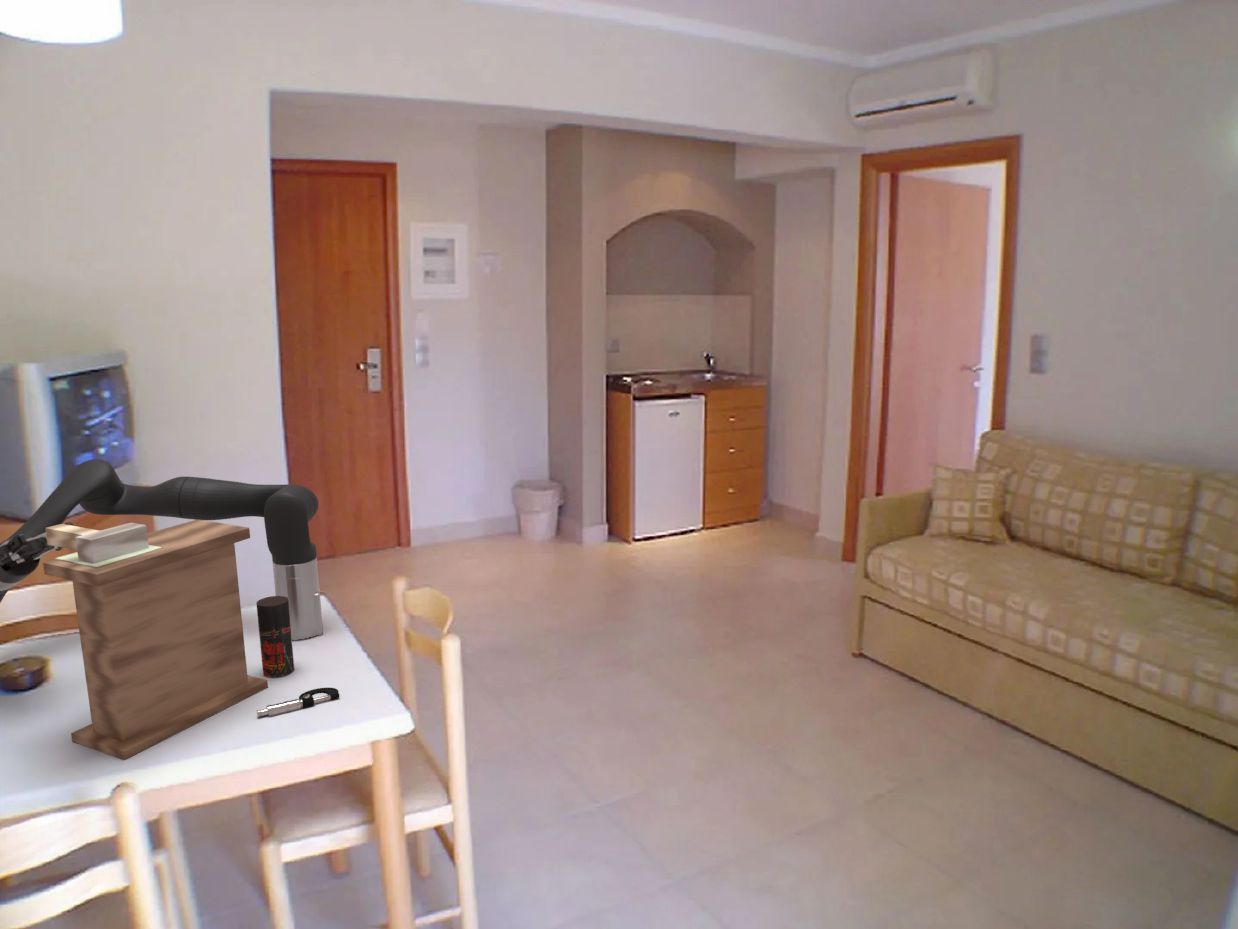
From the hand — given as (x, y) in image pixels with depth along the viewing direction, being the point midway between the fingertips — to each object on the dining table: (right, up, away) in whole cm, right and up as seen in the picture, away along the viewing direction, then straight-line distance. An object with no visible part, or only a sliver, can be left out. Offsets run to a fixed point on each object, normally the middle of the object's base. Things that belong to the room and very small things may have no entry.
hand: (47, 532), depth 163 cm
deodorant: (+33, -30, +22) cm, 49 cm away
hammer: (+10, -2, -5) cm, 11 cm away
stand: (+20, -33, +5) cm, 39 cm away
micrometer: (+42, -33, +9) cm, 54 cm away
